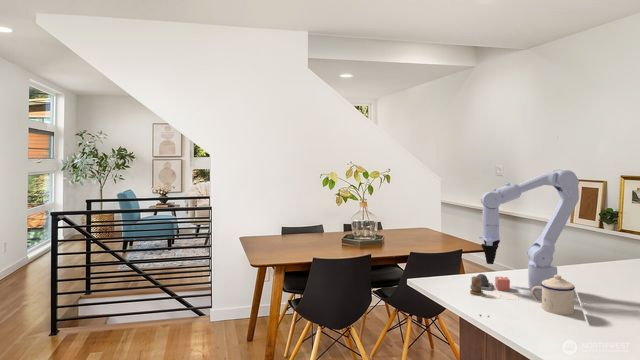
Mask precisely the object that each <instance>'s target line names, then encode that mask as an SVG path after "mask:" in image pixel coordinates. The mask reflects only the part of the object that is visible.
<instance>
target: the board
mask: <svg viewBox="0 0 640 360" xmlns="http://www.w3.org/2000/svg"><path fill="white" fill-rule="evenodd" d="M469 286H470V289H471V290H472V283H471V284H470V285H469ZM492 290H493V282H489V287H481V291H483V295H479V296H477V295H472V294H470V291H469V292H468V296H473V297H474V296H475V297H483V296H484V293H485V292H484V291H490V292H486V294H485V297H486V298H492V299H493V298H494V299H501V297H502V296H501V295H502V294H501V293H495V292H494V293H492V292H491V291H492ZM502 299H503V300H510V301H511V300H512V301H519V295H513V294H512V295H511V294H503V297H502Z"/></svg>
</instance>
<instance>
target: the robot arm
mask: <svg viewBox="0 0 640 360" xmlns="http://www.w3.org/2000/svg"><path fill="white" fill-rule="evenodd" d="M579 184H580V180H579V178H578V176H577V175H576V173H575V172H574V171H572V170H567V169H566V170H563V169H554V170H553V171H547V172H544V173H541V174H539V175H537V176H535V177H532V178H530V179H528V180H526V181H523V182H521V183H519V184H518V183H517V184H516V183H514V182H511V183H509V182H506V183H505V185H504V186H501V187H499V188H492V191H485V192H484V193H483V194H482V195H481V198H480V203H481V204H482V217H481V219H482V220H481V222H482V229H481V230H482V235H479V236H478V238H479V239H482V240H483V243H481V248H482V250H483V252H484V256H485V261H486V265H494V263H495V260H496V257H497V256H496V255H497V250H498V248H499V244H500V242H501V240H500V239H501V237H500V211H499V210H500V209H499V207H500V205H501V204H502V205H504V204H506V203H509V202H511V201H514V200H517V199H518V198H520V197H521V195H522V193H526V192H529V191H531V190H534V189H538V188H540V187H542V186H552V187H553V188H554V189H556V192H557V193H558V195H559V197H560V199H559V201H558V203H557V205H556V207H555V209H554V210H553V212H552V214H551V215H550V217H549V219H548V222H547V223H546V225H545V227H544V228H543V230H542V233H541V234H540V236H539V237H538V238H537V239H535V240H534V242H533V244H532V245H531V244H530V246H529V247H528V248H527V250H526V255H527V257H528V259H529V261H528V262H527V263H528V266H527V267H528V273H527V274H528V283H527V284H528V288H530V289H532V288H533V287H535V286H541V287H542V285H541V283H542V281H544V280H549V279H551V278H554V275H558V267H557V266H554V265H552V263H553V261H554V253H555V250H556V246H555V244H556V242H557V240H558V238H559V237H560V235H561V233H562V232H563V230H564V227H565V226H566V224H567V222H568V220H569V219H570V217H571V215H572V213H573V211H574V210H575V208H576V206H577V204H578V202H579V199H580V191H579ZM537 290H539V291H542V289H536V291H537Z"/></svg>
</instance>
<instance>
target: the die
mask: <svg viewBox="0 0 640 360" xmlns="http://www.w3.org/2000/svg"><path fill="white" fill-rule="evenodd" d="M494 280H495V282H494V286H495V289H496V290H497V291H501V292H502V291H503V292H505V291H506V292H510V290H511V285H510V284H511V281H510V278H508V276H495V277H494Z"/></svg>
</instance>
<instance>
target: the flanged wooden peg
mask: <svg viewBox="0 0 640 360" xmlns="http://www.w3.org/2000/svg"><path fill="white" fill-rule="evenodd" d="M471 284H472V289H471V290H470V291H469V292H470V294H472V295H471V296H473V295H477V296H476V297H480V296H479V295H483V296H484V294H483V292H484V290H481V277H477V275H475V276H471Z"/></svg>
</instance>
